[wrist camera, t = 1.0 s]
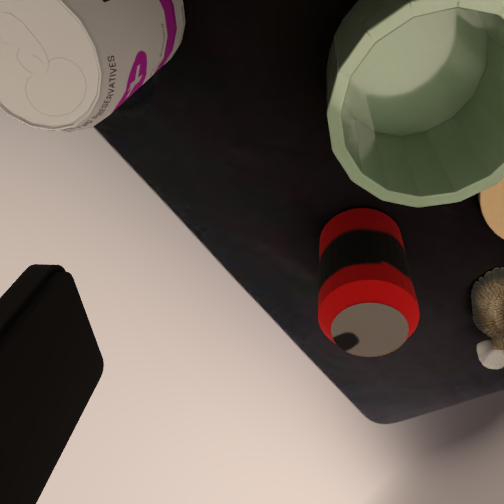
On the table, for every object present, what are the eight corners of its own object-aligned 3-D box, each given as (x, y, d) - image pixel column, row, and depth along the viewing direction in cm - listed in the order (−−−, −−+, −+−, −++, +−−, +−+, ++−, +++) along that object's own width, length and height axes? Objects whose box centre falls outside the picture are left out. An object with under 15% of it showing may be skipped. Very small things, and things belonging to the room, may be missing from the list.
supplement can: (208, 30, 34) (147, 91, 22) (129, 87, 38) (38, 166, 26) (139, -83, 31) (21, -82, 19) (58, -9, 34) (-86, 32, 22)
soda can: (303, 233, 44) (297, 321, 34) (370, 190, 40) (384, 275, 31) (349, 282, 47) (355, 376, 37) (416, 246, 43) (442, 340, 34)
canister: (353, -45, 31) (363, -30, 22) (530, -11, 30) (608, 17, 22) (311, 126, 38) (307, 185, 29) (454, 154, 38) (492, 222, 29)
